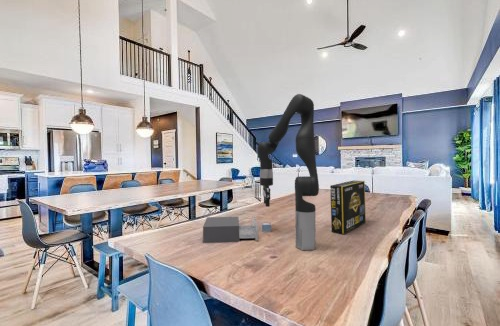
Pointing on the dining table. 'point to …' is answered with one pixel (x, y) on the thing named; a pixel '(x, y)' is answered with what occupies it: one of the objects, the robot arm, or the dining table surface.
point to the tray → (249, 230)
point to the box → (347, 206)
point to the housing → (221, 229)
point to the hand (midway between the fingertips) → (266, 205)
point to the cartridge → (266, 227)
